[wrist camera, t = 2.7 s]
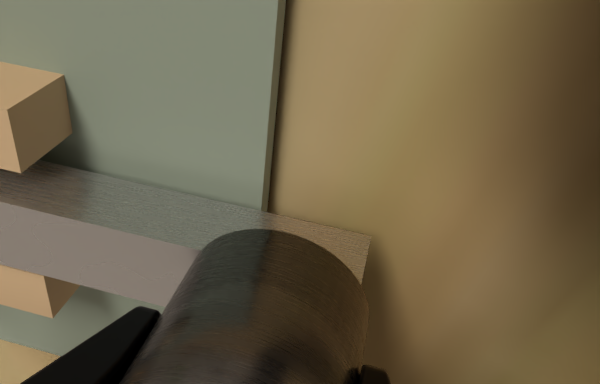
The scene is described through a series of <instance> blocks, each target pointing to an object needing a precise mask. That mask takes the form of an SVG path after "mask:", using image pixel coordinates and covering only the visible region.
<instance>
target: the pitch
mask: <svg viewBox="0 0 600 384" xmlns="http://www.w3.org/2000/svg"><path fill="white" fill-rule="evenodd" d="M285 6H286V0H0V169H4V170H9V171H13V172H17V173H22V172H23V171H25V170H26V169H27V168H29V167H30V166H31V165H32V164H34V163H35V162H36V161H37V160H41V161H46V162H50V163H54V164H59V165H63V166H67V167H72V168H76V169H81V170H85V171H89V172H94V173H98V174H102V175H107V176H111V177H115V178H120V179H124V180H128V181H133V182H137V183H142V184H146V185H150V186H155V187H159V188H163V189H168V190H172V191H176V192H181V193H185V194H190V195H194V196H198V197H203V198H207V199H211V200H216V201H220V202H224V203H229V204H233V205H238V206H242V207H246V208H251V209H255V210H259V211H264V212H267V208H268V197H269V185H270V174H271V163H272V152H273V141H274V129H275V118H276V107H277V96H278V85H279V73H280V62H281V51H282V40H283V29H284V17H285ZM138 306H144V307H148V308H151V309H155V310H158V311H159V312H160V313H161V314H162V312H163V311H164V309H165V307H163V306H159V305H155V304H151V303H148V302H144V301H140V300H136V299H132V298H128V297H124V296H121V295H117V294H113V293H109V292H105V291H101V290H97V289H94V288H90V287H86V286H82V285H78V284H74V283H70V282H67V281H63V280H59V279H55V278H51V277H47V276H44V275H40V274H36V273H32V272H28V271H24V270H20V269H17V268H13V267H9V266H5V265H1V264H0V339H2V340H5V341H9V342H12V343H16V344H20V345H23V346H27V347H30V348H34V349H37V350H41V351H45V352H48V353H52V354H55V355H59V356H63V355H64V354H66V353H67V352H69V351H70V350H72V349H73V348H75V347H76V346H78V345H79V344H81V343H82V342H84V341H85V340H87V339H88V338H90V337H91V336H93V335H94V334H96V333H97V332H99V331H100V330H102V329H103V328H105V327H106V326H108V325H109V324H111V323H112V322H114V321H115V320H117V319H118V318H120V317H121V316H123V315H124V314H126V313H127V312H129V311H130V310H132V309H133V308H135V307H138Z"/></svg>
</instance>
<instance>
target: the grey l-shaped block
mask: <svg viewBox="0 0 600 384" xmlns="http://www.w3.org/2000/svg"><path fill="white" fill-rule="evenodd" d="M370 240H371V236H368V235H364V234H360V233H355V232H351V231H347V230H342V229H338V228H333V227H329V226H325V225H320V224H316V223H312V222H307V221H303V220H299V219H294V218H290V217H286V216H281V215H277V214H272V213H268V212H264V211H259V210H255V209H251V208H246V207H242V206H238V205H233V204H229V203H224V202H220V201H216V200H211V199H207V198H203V197H198V196H194V195H190V194H185V193H181V192H176V191H172V190H168V189H163V188H159V187H155V186H150V185H146V184H142V183H137V182H133V181H128V180H124V179H120V178H115V177H111V176H107V175H102V174H98V173H94V172H89V171H85V170H81V169H76V168H72V167H67V166H63V165H59V164H54V163H50V162H46V161H41V160H37V161H36V162H35V163H34V164H32V165H31V166H30V167H29V168H27V169H26V170H25V171H23V172H22V173H17V172H13V171H9V170H4V169H0V264H1V265H5V266H9V267H13V268H17V269H20V270H24V271H28V272H32V273H36V274H40V275H44V276H47V277H51V278H55V279H59V280H63V281H67V282H70V283H74V284H78V285H82V286H86V287H90V288H94V289H97V290H101V291H105V292H109V293H113V294H117V295H121V296H124V297H128V298H132V299H136V300H140V301H144V302H148V303H151V304H155V305H159V306H163V307H165V309H164V311H163V312H162V314H161V315H160V317H159V319H158V320H157V322H156V324H155V325H154V327H153V329H152V330H151V332H150V334H149V335H148V337H147V339H146V340H145V342H144V343H143V345H142V347H141V348H140V350H139V352H138V353H137V355H136V357H135V358H134V360H133V362H132V363H131V365H130V366H129V368H128V370H127V371H126V373H125V375H124V376H123V378H122V380H121V381H120V383H119V384H358V381H359V375H360V370H361V364H362V358H363V353H364V347H365V341H366V335H367V330H368V324H369V306H368V301H367V298H366V295H365V292H364V290H363V288H362V286H361V284H362V279H363V274H364V269H365V264H366V259H367V254H368V249H369V245H370Z"/></svg>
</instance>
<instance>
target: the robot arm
mask: <svg viewBox="0 0 600 384" xmlns="http://www.w3.org/2000/svg"><path fill="white" fill-rule="evenodd" d="M160 315H161V313H160V312H159V311H158V310H155V309H151V308H148V307H144V306H138V307H135V308H133V309H132V310H130V311H129V312H127V313H126V314H124V315H123V316H121V317H120V318H118V319H117V320H115V321H114V322H112V323H111V324H109V325H108V326H106V327H105V328H103V329H102V330H100V331H99V332H97V333H96V334H94V335H93V336H91V337H90V338H88V339H87V340H85V341H84V342H82V343H81V344H79V345H78V346H76V347H75V348H73V349H72V350H70V351H69V352H67V353H66V354H64V355H63V356H61V357H60V358H58V359H57V360H55V361H54V362H52V363H51V364H49V365H48V366H46V367H45V368H43V369H42V370H40V371H39V372H37V373H35V374H34V375H32V376H31V377H29V378H28V379H26V380H25V381H23V382H22V383H20V384H119V383H120V381H121V380H122V378H123V376H124V375H125V373H126V371H127V370H128V368H129V366H130V365H131V363H132V362H133V360H134V358H135V357H136V355H137V353H138V352H139V350H140V348H141V347H142V345H143V343H144V342H145V340H146V339H147V337H148V335H149V334H150V332H151V330H152V329H153V327H154V325H155V324H156V322H157V320H158V319H159V317H160ZM358 384H391V383H390V380H389V376H388V374H387V372H386V371H385V370H384V369H382V368H378V367H374V366H370V365H363V366H362V368H361V371H360V375H359V381H358Z"/></svg>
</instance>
